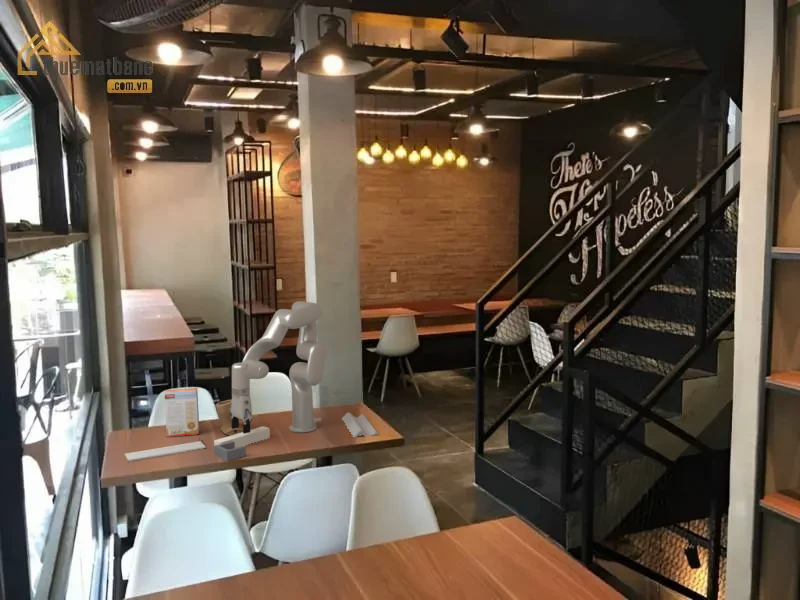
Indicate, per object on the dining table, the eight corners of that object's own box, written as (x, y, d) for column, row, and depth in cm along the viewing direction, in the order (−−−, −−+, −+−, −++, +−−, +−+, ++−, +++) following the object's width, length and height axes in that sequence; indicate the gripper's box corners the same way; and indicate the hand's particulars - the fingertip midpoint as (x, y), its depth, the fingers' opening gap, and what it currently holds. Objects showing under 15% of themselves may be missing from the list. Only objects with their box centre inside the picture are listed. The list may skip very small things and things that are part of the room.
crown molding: (378, 436, 298) (378, 429, 298) (352, 439, 295) (352, 431, 295) (364, 418, 328) (364, 411, 328) (340, 420, 325) (340, 412, 325)
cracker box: (199, 431, 306) (197, 387, 304) (198, 435, 300) (196, 390, 298) (167, 433, 303) (166, 389, 301) (166, 437, 297) (164, 392, 295)
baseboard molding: (123, 455, 276) (128, 463, 265) (123, 448, 275) (128, 456, 265) (198, 442, 291) (205, 450, 281) (198, 436, 291) (205, 443, 281)
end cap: (232, 450, 279) (232, 441, 279) (245, 456, 271) (245, 446, 271) (214, 455, 273) (214, 445, 273) (227, 461, 266) (226, 451, 265)
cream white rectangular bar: (263, 437, 298) (263, 426, 297) (269, 438, 295) (269, 428, 295) (214, 451, 278) (214, 440, 278) (220, 454, 275) (220, 442, 275)
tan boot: (214, 430, 308) (213, 398, 307) (240, 426, 313) (239, 395, 312) (220, 439, 295) (219, 406, 293) (247, 435, 300) (246, 403, 298)
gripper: (259, 393, 280) (259, 433, 282) (238, 387, 293) (238, 424, 294) (243, 396, 275) (243, 436, 276) (223, 389, 288) (223, 427, 289)
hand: (240, 430), depth 285 cm, fingers open, 9 cm apart
